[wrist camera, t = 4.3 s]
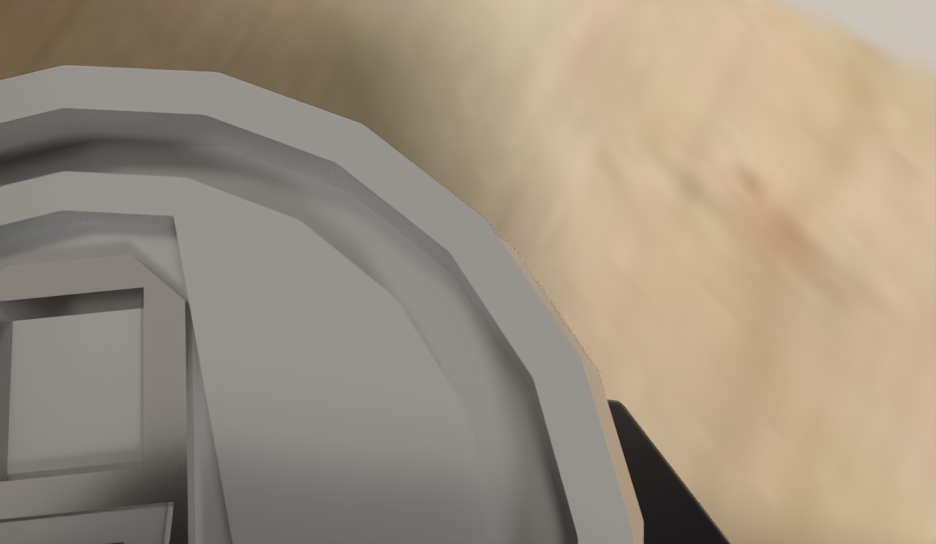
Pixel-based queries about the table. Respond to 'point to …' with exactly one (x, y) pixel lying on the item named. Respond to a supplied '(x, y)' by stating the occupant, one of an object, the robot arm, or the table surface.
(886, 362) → the table surface
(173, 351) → the beer can
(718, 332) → the table surface
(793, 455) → the table surface
